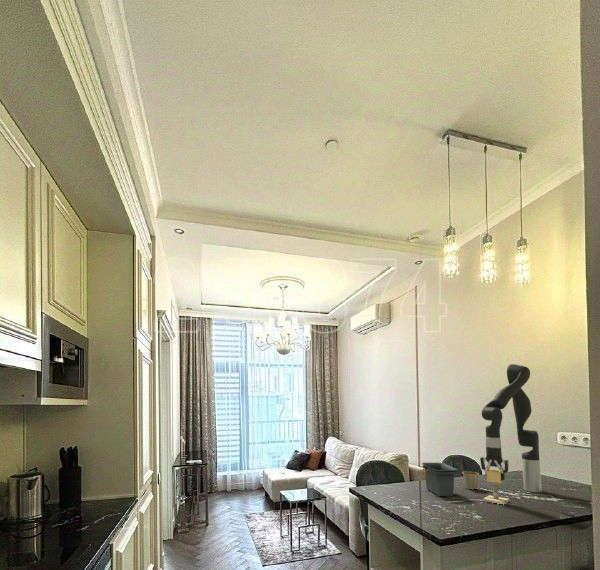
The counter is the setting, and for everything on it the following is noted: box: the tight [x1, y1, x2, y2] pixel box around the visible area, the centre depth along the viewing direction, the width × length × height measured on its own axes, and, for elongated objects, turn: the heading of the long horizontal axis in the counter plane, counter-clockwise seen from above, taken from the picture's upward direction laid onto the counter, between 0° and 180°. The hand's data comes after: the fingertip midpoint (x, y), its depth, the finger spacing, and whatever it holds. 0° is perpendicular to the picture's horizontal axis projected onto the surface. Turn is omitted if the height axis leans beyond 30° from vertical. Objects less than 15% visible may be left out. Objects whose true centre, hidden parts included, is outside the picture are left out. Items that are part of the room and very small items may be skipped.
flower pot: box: [462, 471, 480, 491], centre depth 277 cm, size 9×9×9 cm
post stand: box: [482, 484, 510, 506], centre depth 249 cm, size 10×10×8 cm
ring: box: [485, 469, 504, 484], centre depth 250 cm, size 7×7×5 cm
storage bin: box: [421, 462, 458, 497], centre depth 266 cm, size 21×16×14 cm
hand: (495, 479), depth 250 cm, fingers closed on ring, 6 cm apart
